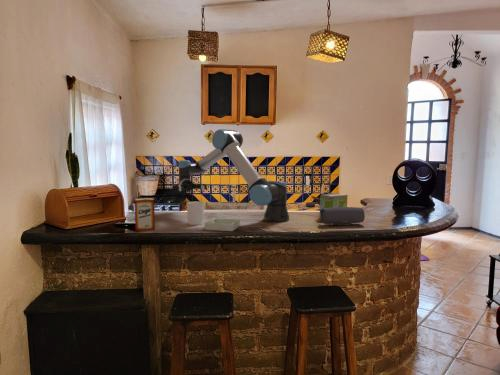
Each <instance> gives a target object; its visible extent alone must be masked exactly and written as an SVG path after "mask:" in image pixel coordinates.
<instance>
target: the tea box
mask: <svg viewBox="0 0 500 375" xmlns="http://www.w3.org/2000/svg"><path fill="white" fill-rule="evenodd" d="M319 198H320V199H319V215H318V216H319V219H321V218H320V214H321V210H322V209H323V208H334V207H348V195H347V194H341V193H327V194H320V197H319Z"/></svg>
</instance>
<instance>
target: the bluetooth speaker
mask: <svg viewBox="0 0 500 375" xmlns="http://www.w3.org/2000/svg"><path fill="white" fill-rule="evenodd" d="M319 215H320V218H319V219H320V221H321V223H322V224H325V225H326V224H329V225H332V226H334V225H341V226H351V225H352V224H360V223H363V222H364V221H365V211H364V208H363V207H359V206H358V207H355V206H353V207H352V206H347V207H334V208H323V209H322V210H321V214H320V213H319Z"/></svg>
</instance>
